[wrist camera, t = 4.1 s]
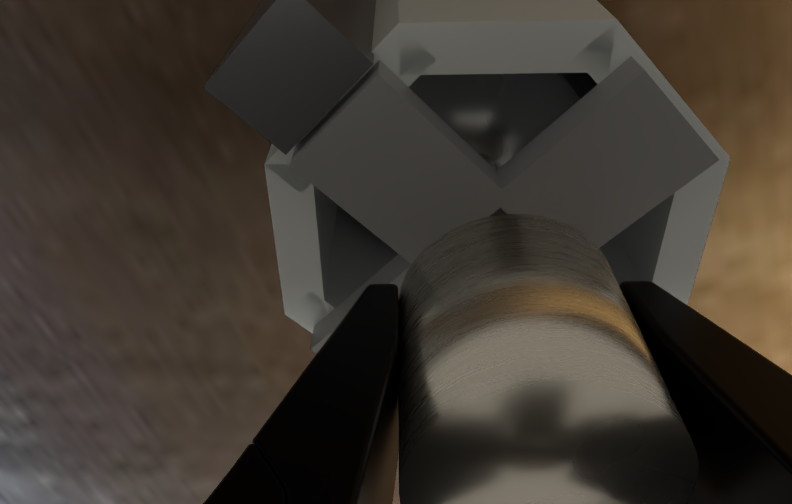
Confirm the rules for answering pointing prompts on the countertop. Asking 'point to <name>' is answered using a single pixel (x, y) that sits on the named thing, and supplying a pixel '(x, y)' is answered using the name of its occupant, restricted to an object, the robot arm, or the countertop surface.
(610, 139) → the grey faceted drum
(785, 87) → the countertop surface
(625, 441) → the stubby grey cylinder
